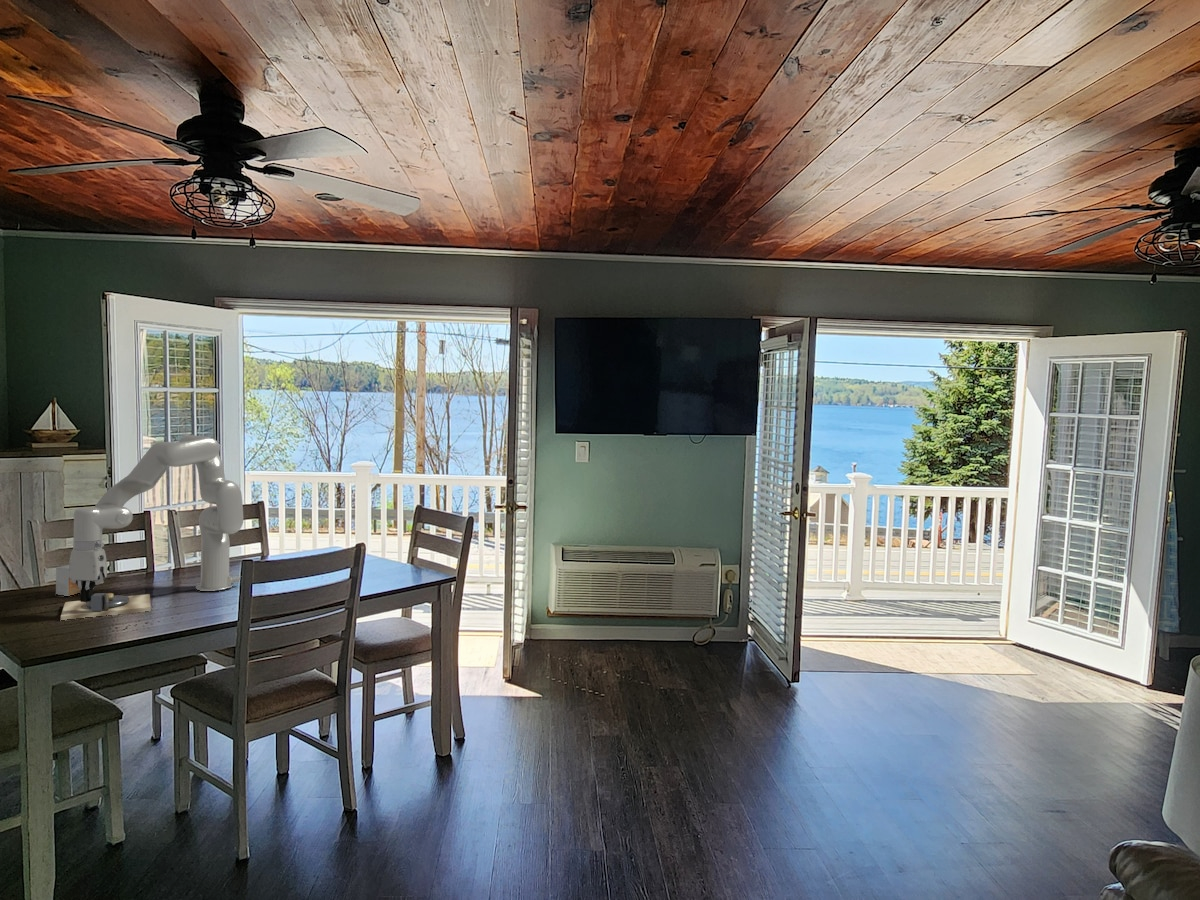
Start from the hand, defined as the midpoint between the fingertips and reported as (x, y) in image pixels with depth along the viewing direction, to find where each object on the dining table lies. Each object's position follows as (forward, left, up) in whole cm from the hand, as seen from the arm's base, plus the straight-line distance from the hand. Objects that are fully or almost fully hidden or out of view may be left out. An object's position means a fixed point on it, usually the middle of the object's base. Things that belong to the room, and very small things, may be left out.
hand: (86, 600), depth 224 cm
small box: (+5, -31, -5) cm, 32 cm away
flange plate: (-5, -4, -3) cm, 7 cm away
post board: (-6, -5, -5) cm, 9 cm away
